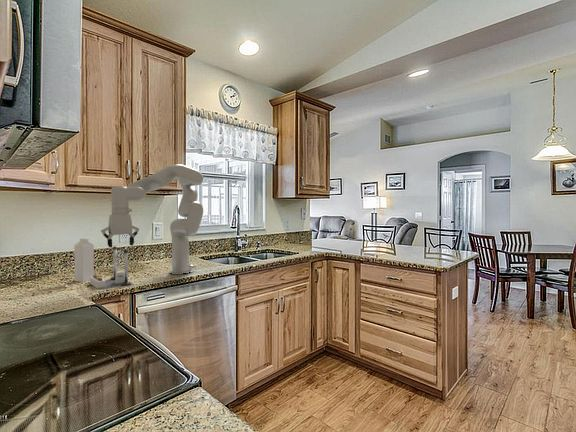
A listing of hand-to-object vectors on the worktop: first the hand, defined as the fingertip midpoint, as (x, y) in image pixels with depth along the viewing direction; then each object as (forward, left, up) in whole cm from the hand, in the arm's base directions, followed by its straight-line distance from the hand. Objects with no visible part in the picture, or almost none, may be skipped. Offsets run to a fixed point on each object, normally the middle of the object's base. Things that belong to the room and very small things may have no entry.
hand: (121, 246), depth 161 cm
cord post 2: (0, +9, -18) cm, 20 cm away
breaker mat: (+5, 0, -19) cm, 19 cm away
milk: (+12, -16, -19) cm, 28 cm away
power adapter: (0, 0, -18) cm, 18 cm away
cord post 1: (0, -8, -18) cm, 20 cm away
